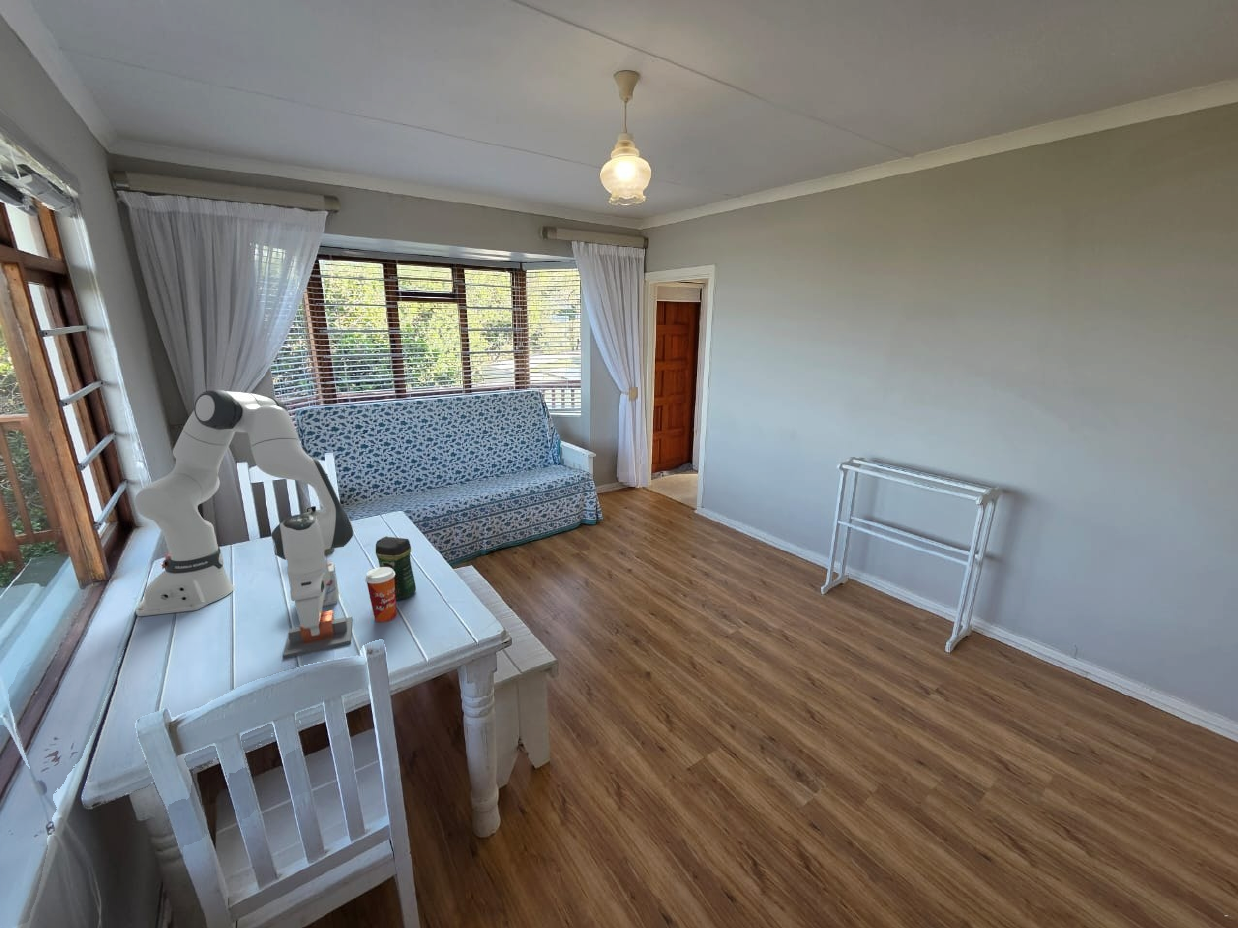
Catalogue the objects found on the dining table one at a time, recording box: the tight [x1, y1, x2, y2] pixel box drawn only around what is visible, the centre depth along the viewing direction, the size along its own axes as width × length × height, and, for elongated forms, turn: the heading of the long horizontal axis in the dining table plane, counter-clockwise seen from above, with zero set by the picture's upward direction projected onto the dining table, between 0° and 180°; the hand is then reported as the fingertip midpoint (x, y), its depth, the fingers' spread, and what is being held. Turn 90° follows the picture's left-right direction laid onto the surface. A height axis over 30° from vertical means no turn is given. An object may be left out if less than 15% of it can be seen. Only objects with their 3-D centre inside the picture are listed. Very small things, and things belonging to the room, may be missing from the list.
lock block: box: [299, 609, 335, 644], centre depth 131 cm, size 7×6×5 cm
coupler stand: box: [282, 616, 354, 660], centre depth 132 cm, size 15×12×4 cm
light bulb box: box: [323, 561, 340, 607], centre depth 148 cm, size 11×7×11 cm, turn 118°
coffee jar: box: [375, 535, 417, 601], centre depth 152 cm, size 10×8×19 cm
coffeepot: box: [302, 505, 336, 557], centre depth 181 cm, size 15×9×18 cm, turn 44°
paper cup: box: [364, 566, 397, 623], centre depth 141 cm, size 8×8×14 cm
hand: (317, 624), depth 131 cm, fingers open, 8 cm apart
